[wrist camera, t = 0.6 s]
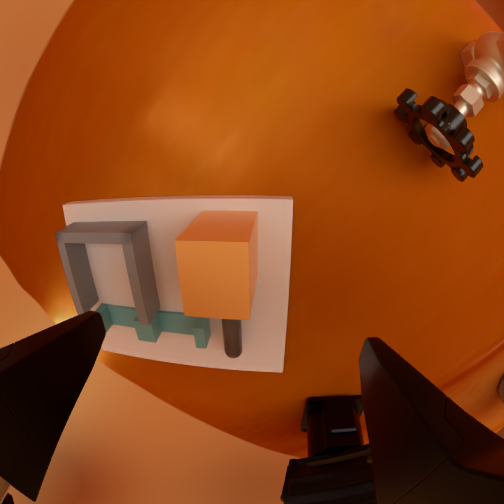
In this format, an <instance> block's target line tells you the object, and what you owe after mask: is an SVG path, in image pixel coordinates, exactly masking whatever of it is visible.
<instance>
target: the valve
mask: <svg viewBox="0 0 504 504" xmlns="http://www.w3.org/2000/svg"><path fill="white" fill-rule="evenodd" d="M459 54H460V57H461V59H462V62H463V65H464V68H465V69H464V75H465V78H466V81H467V84H465V85H461V86H460V87H459V89H458V90H457V91H456V92H455V93H454V94H453V95H452V96H453V100H454V103H455V104H454V105H453V106H452V105H450V104H447V103H446V102H445V101H442V100H440V99H438V98H436V97H434V96H430V97H429V98H428V99H427V100H426V101H425V103H424V104H423V105H417V104H416V103H415V102H414V98H415V97H416V96H417V94H416V93H415V92H414V91H412V90H411V89H408V88H407V89H405V90H404V91H403V92H402V93H401V94H400V95H399V96H398V97H397V102H398V104H399V106H398V107H397V108H396V109H395V110H394V114H395V115H396V117H397V118H398V119H399V120H400V121H402V122H403V123H407V124H408V125H409V126H410V127H411V129H412V130H411V131H410V132H409V133H408V135H409V137H410V138H411V139H412V141H413V142H415V143H416V144H418V145H421V144H423V145H424V146H425V147H426V148H427V149H428V150H429V151H430V152H431V156H430V157H431V159H432V161H433V162H434V163H435V164H436V165H437V166H438V167H440V168H442V167H443V166H444V165H445V164H447V165H448V166H449V167H450V168H451V172H452V173H453V175H454V176H455V177H456V178H457V179H458V180H459V181H461V182H463V181H464V180H465V179H466V178H467V177H468V176H470V177H472V178H474V177H475V176H476V175H477V174H478V173H479V172H480V170H481V169H482V168H483V163H482V161H481V159H480V158H479V157H478V156H477V155H476V156H475V157H474V158H473V160H472V159H470V158H469V157H470V155H471V154H472V151H473V142H474V141H475V139H474V136H473V134H472V133H471V131H470V130H469V129H468V128H467V121H466V119H465V116H469V117H473V116H476V115H477V113H478V112H479V111H480V109H481V108H482V107H483V106H484V103H483V100H487V101H489V102H496V101H498V100H499V98H500V97H501V96H502V94H503V93H504V32H503V33H499V32H487V33H484V34H482V35H481V36H480V37H479V38H478V39H477V40H474V41H471V42H469V43H468V44H467V45H466V46H465V47H464V48H463V49H462V51H461V52H460V53H459ZM419 118H420V119H423V120H425V121H427V122H428V123H427V124H426V125H425V126H424V128H423V127H422V125H421V123H420V120H419ZM450 145H451V147H452V149H453V151H454V153H455V155H452V154H450V153H448V152H447V151H445V150H444V149H447V148H448V147H449V146H450Z"/></svg>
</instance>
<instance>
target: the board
mask: <svg viewBox="0 0 504 504" xmlns="http://www.w3.org/2000/svg"><path fill="white" fill-rule="evenodd" d="M63 210H64V216H65V222H66V226H68V225H70V224H72V223H73V222H102V221H147V227H148V235H149V242H150V249H151V256H152V262H153V268H154V274H155V280H156V286H157V291H158V297H159V302H160V309H159V310H162V311H172V312H183V313H184V309H183V302H182V295H181V289H180V281H179V274H178V266H177V258H176V250H175V241H174V240H175V239H176V238H177V237H178V236H179V235H180V234H181V233H182V232H183V231H184V230H185V229H186V228H187V227H188V226H189V224H190V223H191V222H192V221H193V220H194V219H195V218H196V217H197V216H198V215H199V214H200V213H201V212H202V211H258V276H257V282H256V288H255V294H254V299H253V305H252V311H251V317H250V320H241V326H242V354H241V355H240V356H239V357H238V358H229V357H228V356H227V355H226V354H225V351H224V340H223V329H222V319H219V318H209V322H210V331H211V336H210V339H209V342H208V345H207V348H206V349H203V348H196V344H195V338H194V335H187V334H178V333H169V332H161V334H160V336H159V338H158V340H157V342H156V343H154V342H147V341H141V340H138V337H137V333H136V330H135V328H132V327H126V326H119V325H112V326H111V327H110V329H109V330H108V331H107V333H106V336H105V339H104V341H103V344H102V346H101V347H102V350H105V351H110V352H114V353H119V354H124V355H129V356H134V357H140V358H146V359H151V360H157V361H164V362H170V363H177V364H185V365H193V366H201V367H210V368H220V369H232V370H245V371H262V372H283V363H284V351H285V339H286V326H287V312H288V297H289V280H290V262H291V241H292V216H293V197H292V196H258V195H199V196H159V197H135V198H116V199H101V200H87V201H74V202H68V203H66V204H64V205H63ZM85 246H86V250H87V255H88V259H89V264H90V268H91V272H92V276H93V280H94V283H95V287H96V291H97V294H98V298H99V301H98V302H97V303H96V304H95V305H94V306H93V307H92V308H91V309H90V310H92V311H95V310H96V309H97V308H98V307H99V306H100V305H101V303H104V304H111V305H119V306H127V307H135V304H134V300H133V296H132V291H131V287H130V282H129V278H128V273H127V268H126V263H125V258H124V252H123V247H122V244H86V243H85Z"/></svg>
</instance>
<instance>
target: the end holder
mask: <svg viewBox="0 0 504 504" xmlns="http://www.w3.org/2000/svg"><path fill="white" fill-rule="evenodd" d="M55 234H56V239H57V243H58V248H59V252H60V256H61V260H62V264H63V268H64V271H65V275H66V278H67V282H68V285H69V288H70V292H71V295H72V298H73V301H74V304H75V307H76V310H77V313H78V314H79V315H80V314H82V313H85V312H87V311H89V310H90V309H91V308H92V307H93V306H94V305H95V304H96V303H97V302H98V301H99V298H98V294H97V291H96V287H95V283H94V280H93V276H92V272H91V268H90V264H89V259H88V255H87V250H86V246H85V243H86V244H122V247H123V252H124V258H125V263H126V268H127V273H128V278H129V282H130V287H131V291H132V296H133V300H134V304H135V308H136V312H137V316H138V320H139V324H140V325H148V326H149V325H150V323H151V322H152V320H153V319H154V317H155V315H156V314H157V312H158V311H159V309H160V302H159V297H158V291H157V286H156V280H155V274H154V268H153V262H152V256H151V249H150V242H149V235H148V227H147V221H102V222H73V223H72V224H70V225H68V226H66V227H65V228H63V229H61V230H59V231H58V232H56V233H55Z"/></svg>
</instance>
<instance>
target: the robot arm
mask: <svg viewBox="0 0 504 504" xmlns="http://www.w3.org/2000/svg"><path fill="white" fill-rule="evenodd" d="M105 336H106V329H105V326H104V322H103V319H102V316H101V314H100V313H99V312H97V311H92V310H89V311H87V312H85V313H82V314H80V315H77V316H75V317H73V318H70V319H68V320H66V321H63V322H61V323H59V324H56V325H54V326H52V327H49V328H47V329H45V330H42V331H40V332H38V333H35V334H33V335H31V336H29V337H27V338H24V339H22V340H20V341H17V342H15V343H12V344H10V345H8V346H5V347H3V348H1V349H0V504H14V502H13V498H12V495H10V494H9V493H8V490H9V489H10V487H11V485H12V486H13V487H14V488H15V489H17V490H18V491H20V492H21V493H22V494H24V495H25V496H26V497H28V498H29V499H31V500H32V501H34V502H35V501H36V499H37V497H38V494H39V491H40V488H41V485H42V482H43V480H44V477H45V474H46V471H47V469H48V466H49V464H50V461H51V458H52V456H53V453H54V451H55V448H56V446H57V443H58V441H59V439H60V436H61V434H62V432H63V430H64V427H65V425H66V423H67V421H68V418H69V416H70V414H71V412H72V410H73V408H74V405H75V403H76V401H77V399H78V397H79V395H80V393H81V391H82V389H83V387H84V385H85V383H86V381H87V379H88V377H89V375H90V373H91V371H92V368H93V366H94V364H95V361H96V359H97V356H98V354H99V351H100V349H101V346H102V344H103V341H104V339H105ZM359 368H360V380H361V393H362V396H351V397H327V398H309V399H307V401H306V405H305V410H304V414H303V419H302V423H301V432H307V441H308V457H307V458H301V459H290V461H289V466H288V467H287V472H286V477H285V482H284V486H283V491H282V495H281V501H283V502H284V504H504V439H503V438H501V437H500V436H498V435H497V434H496V433H494V432H493V431H491V430H490V429H488V428H487V427H486V426H484V425H483V424H481V423H480V422H479V421H477V420H476V419H475V418H473V417H472V416H471V415H469V414H468V413H467V412H465V411H464V410H463V409H462V408H460V407H459V406H458V405H457V404H456V403H454V402H453V401H452V400H451V399H450V398H449V397H446V395H445V394H444V393H443V392H442V391H441V390H439V389H438V388H437V387H436V386H435V385H434V384H433V383H431V382H430V381H429V380H428V379H427V378H426V377H424V376H423V375H422V374H421V373H420V372H419V371H417V370H416V369H415V368H414V367H413V366H412V365H410V364H409V363H408V362H407V361H406V360H405V359H403V358H402V357H401V356H400V355H399V354H397V353H396V352H395V351H394V350H393V349H392V348H390V347H389V346H388V345H387V344H386V343H385V342H383V341H382V340H381V339H380V338H378V337H368V338H366V339H365V341H364V345H363V348H362V351H361V354H360V357H359ZM363 410H364V415H365V421H366V427H367V432H368V438H369V444H366V445H364V441H363V435H362V430H361V424H360V416H361V414H362V412H363Z"/></svg>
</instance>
